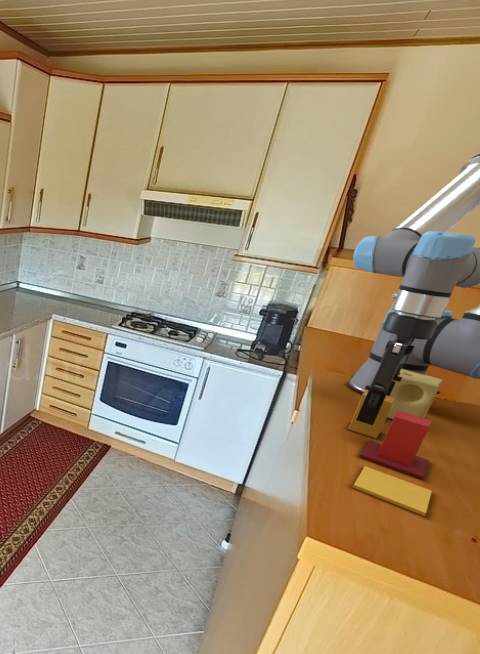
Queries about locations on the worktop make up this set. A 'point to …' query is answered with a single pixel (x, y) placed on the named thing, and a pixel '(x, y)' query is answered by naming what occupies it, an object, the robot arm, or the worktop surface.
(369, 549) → the worktop surface
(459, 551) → the worktop surface
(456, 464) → the worktop surface
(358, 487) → the yellow mat
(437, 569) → the worktop surface
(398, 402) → the cheese
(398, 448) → the red block
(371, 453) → the red mat
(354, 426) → the yellow block
